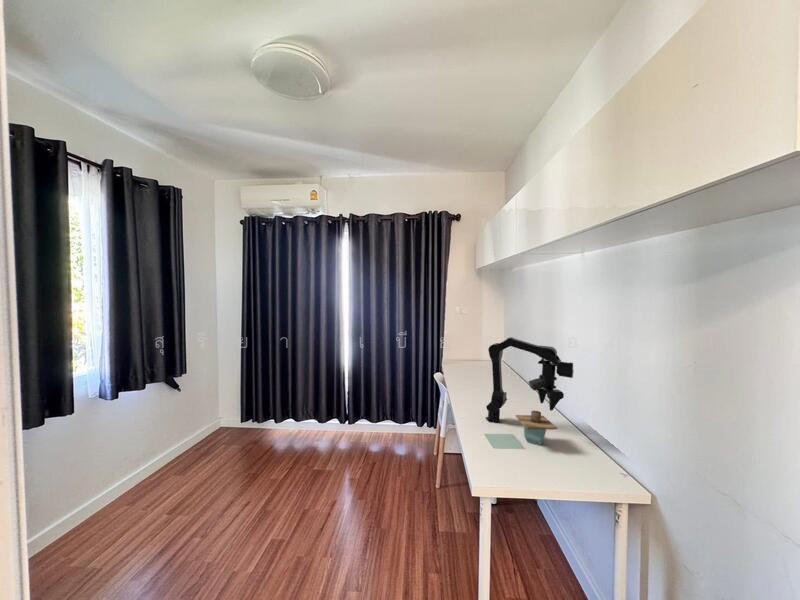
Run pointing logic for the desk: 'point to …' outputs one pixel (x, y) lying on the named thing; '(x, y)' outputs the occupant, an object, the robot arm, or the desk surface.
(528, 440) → the flower pot
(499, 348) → the robot arm
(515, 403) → the desk surface
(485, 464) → the desk surface
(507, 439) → the mat
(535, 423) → the lid
